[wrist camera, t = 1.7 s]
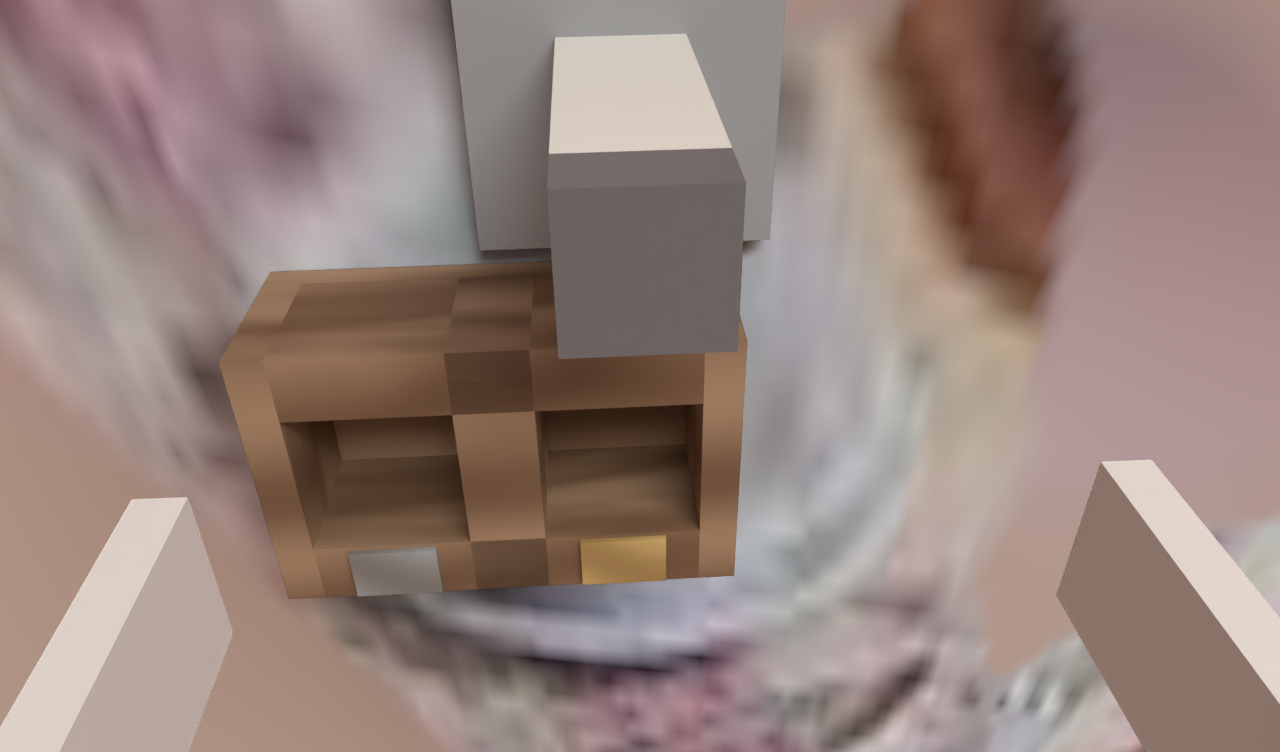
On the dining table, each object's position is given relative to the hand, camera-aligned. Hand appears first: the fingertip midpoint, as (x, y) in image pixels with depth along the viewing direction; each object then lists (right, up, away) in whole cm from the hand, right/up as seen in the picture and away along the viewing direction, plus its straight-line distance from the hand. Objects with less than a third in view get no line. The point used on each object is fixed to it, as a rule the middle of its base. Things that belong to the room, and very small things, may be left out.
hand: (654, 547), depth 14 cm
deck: (-1, +12, +17) cm, 21 cm away
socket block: (-5, +2, +23) cm, 23 cm away
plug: (-1, +11, +16) cm, 20 cm away
